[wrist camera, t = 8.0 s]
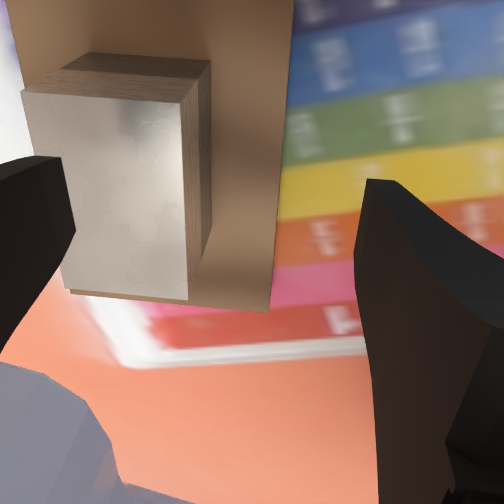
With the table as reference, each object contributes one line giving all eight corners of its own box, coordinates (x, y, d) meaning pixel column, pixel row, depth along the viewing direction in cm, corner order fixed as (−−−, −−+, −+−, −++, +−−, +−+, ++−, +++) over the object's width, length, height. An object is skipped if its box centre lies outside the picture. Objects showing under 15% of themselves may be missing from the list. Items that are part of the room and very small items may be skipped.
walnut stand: (271, 287, 25) (268, 313, 24) (86, 270, 26) (70, 293, 24) (301, -83, 16) (300, -83, 15) (15, -97, 17) (-17, -99, 15)
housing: (211, 227, 21) (188, 300, 17) (112, 218, 21) (64, 288, 17) (211, 60, 17) (179, 103, 13) (88, 51, 17) (19, 91, 13)
